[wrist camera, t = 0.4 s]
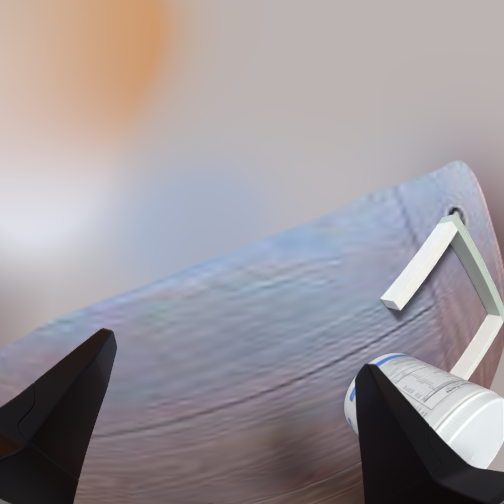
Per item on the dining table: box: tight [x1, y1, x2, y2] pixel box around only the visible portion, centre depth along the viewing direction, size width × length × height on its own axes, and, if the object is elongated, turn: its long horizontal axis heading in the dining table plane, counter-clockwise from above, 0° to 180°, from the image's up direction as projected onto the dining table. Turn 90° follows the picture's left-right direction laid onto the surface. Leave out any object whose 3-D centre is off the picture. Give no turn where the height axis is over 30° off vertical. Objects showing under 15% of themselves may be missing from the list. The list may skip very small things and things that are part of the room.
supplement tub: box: [344, 353, 504, 469], centre depth 18 cm, size 10×10×15 cm
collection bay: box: [380, 214, 504, 380], centre depth 25 cm, size 12×16×2 cm
